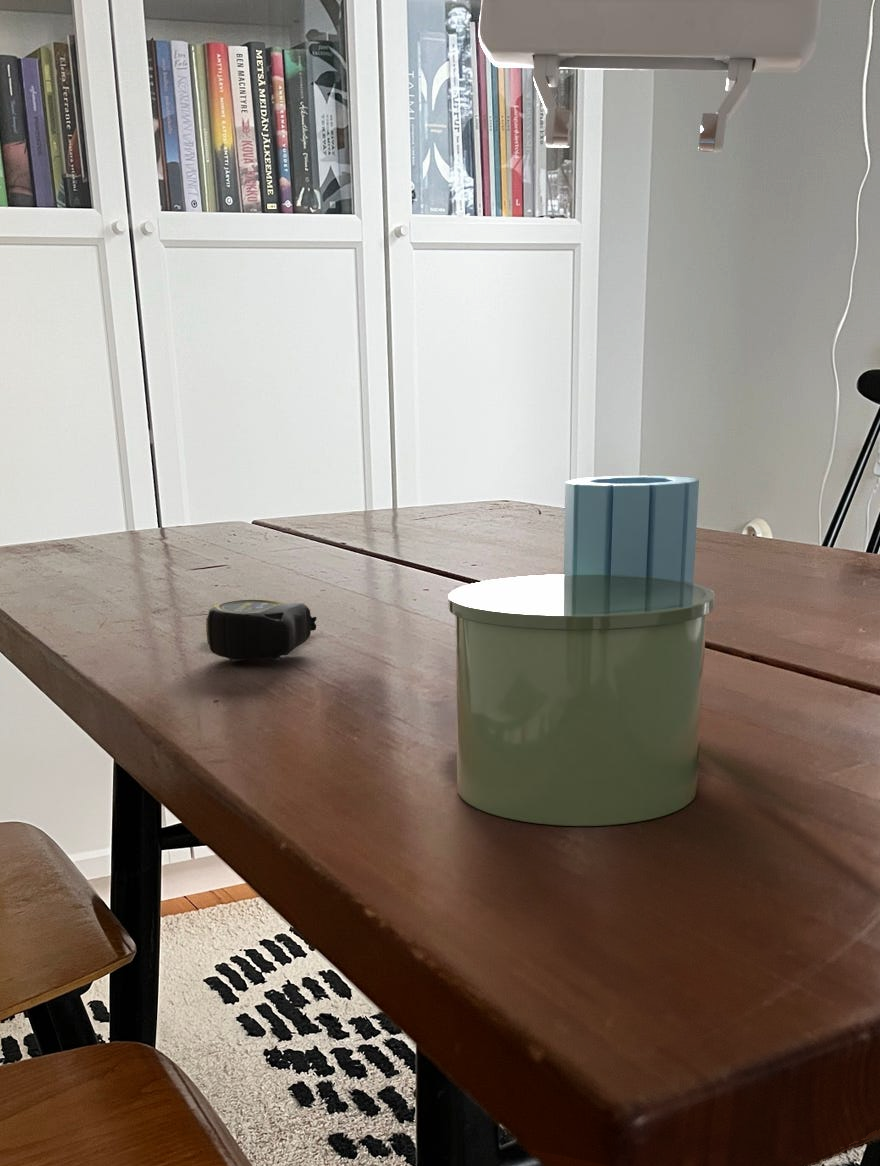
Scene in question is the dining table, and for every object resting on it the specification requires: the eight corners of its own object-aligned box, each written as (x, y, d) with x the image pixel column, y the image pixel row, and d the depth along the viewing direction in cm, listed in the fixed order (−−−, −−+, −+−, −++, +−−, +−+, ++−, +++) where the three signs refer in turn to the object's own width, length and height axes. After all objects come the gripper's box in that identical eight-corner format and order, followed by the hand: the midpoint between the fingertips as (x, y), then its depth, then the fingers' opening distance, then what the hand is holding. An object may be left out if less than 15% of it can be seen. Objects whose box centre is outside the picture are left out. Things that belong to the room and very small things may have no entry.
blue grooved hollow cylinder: (663, 625, 69) (670, 474, 67) (707, 647, 63) (717, 482, 61) (550, 631, 69) (552, 478, 66) (584, 654, 63) (588, 487, 60)
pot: (676, 841, 52) (691, 568, 48) (413, 813, 56) (407, 560, 52) (745, 723, 69) (760, 515, 65) (540, 709, 73) (542, 513, 69)
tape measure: (289, 670, 85) (286, 614, 83) (193, 667, 86) (189, 612, 85) (318, 650, 91) (315, 597, 90) (228, 648, 93) (225, 596, 91)
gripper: (838, -91, 75) (800, 165, 79) (500, -90, 79) (480, 155, 83) (853, -142, 70) (810, 138, 73) (486, -138, 73) (465, 128, 77)
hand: (632, 147), depth 78 cm, fingers open, 8 cm apart
